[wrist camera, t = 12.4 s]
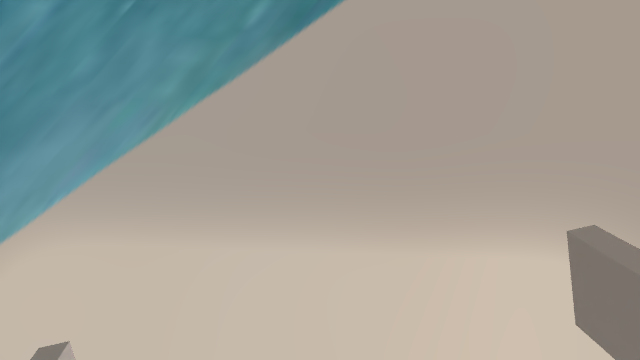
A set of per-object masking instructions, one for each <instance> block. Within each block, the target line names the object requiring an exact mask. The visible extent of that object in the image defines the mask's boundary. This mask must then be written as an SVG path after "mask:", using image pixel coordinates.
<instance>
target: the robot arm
mask: <svg viewBox="0 0 640 360" xmlns="http://www.w3.org/2000/svg"><path fill="white" fill-rule="evenodd" d="M567 238H568V249H569V259H570V270H571V280H572V291H573V302H574V313H575V323H576V325H577V326H578V327H579V328H580V329H581V330H582V331H584V332H585V333H586V334H587V335H588V336H589V337H590V338H591V339H593V340H594V341H595V342H596V343H597V344H599V345H600V346H601V347H602V348H603V349H604V350H605V351H606V352H607V353H609V354H610V355H611V356H612V357H613V358H614V359H615V360H640V249H638V248H636V247H634V246H633V245H631V244H629V243H627V242H625V241H623V240H621V239H619V238H617V237H616V236H614V235H612V234H610V233H608V232H606V231H605V230H603V229H601V228H599V227H597V226H595V225H592V226H588V227H583V228H579V229H575V230H570V231H567ZM31 360H75V357H74V354H73V351H72V348H71V345H70V342H64V343H60V344H55V345H51V346H46V347H42V348H39V349H38V350H37V351H36V353H35V354H34V356H33V357H32V358H31Z"/></svg>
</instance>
